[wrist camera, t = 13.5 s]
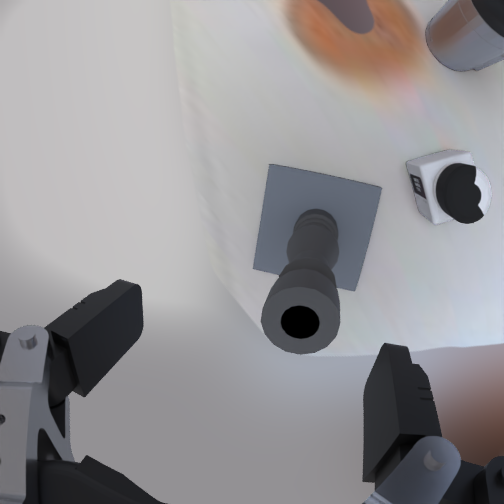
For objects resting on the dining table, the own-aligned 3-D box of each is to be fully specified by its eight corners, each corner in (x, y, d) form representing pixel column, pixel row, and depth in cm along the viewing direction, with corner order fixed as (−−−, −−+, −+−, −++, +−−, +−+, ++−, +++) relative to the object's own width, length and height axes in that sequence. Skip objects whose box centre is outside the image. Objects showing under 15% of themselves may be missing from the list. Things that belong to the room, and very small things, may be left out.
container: (418, 213, 42) (448, 238, 30) (404, 161, 40) (433, 169, 28) (462, 199, 39) (503, 220, 27) (450, 148, 37) (491, 152, 26)
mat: (380, 187, 42) (381, 188, 41) (354, 288, 48) (354, 291, 47) (270, 163, 45) (269, 164, 44) (254, 266, 50) (252, 268, 49)
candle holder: (328, 256, 46) (321, 367, 23) (288, 241, 47) (246, 339, 24) (344, 218, 44) (358, 302, 21) (303, 202, 44) (274, 269, 21)
